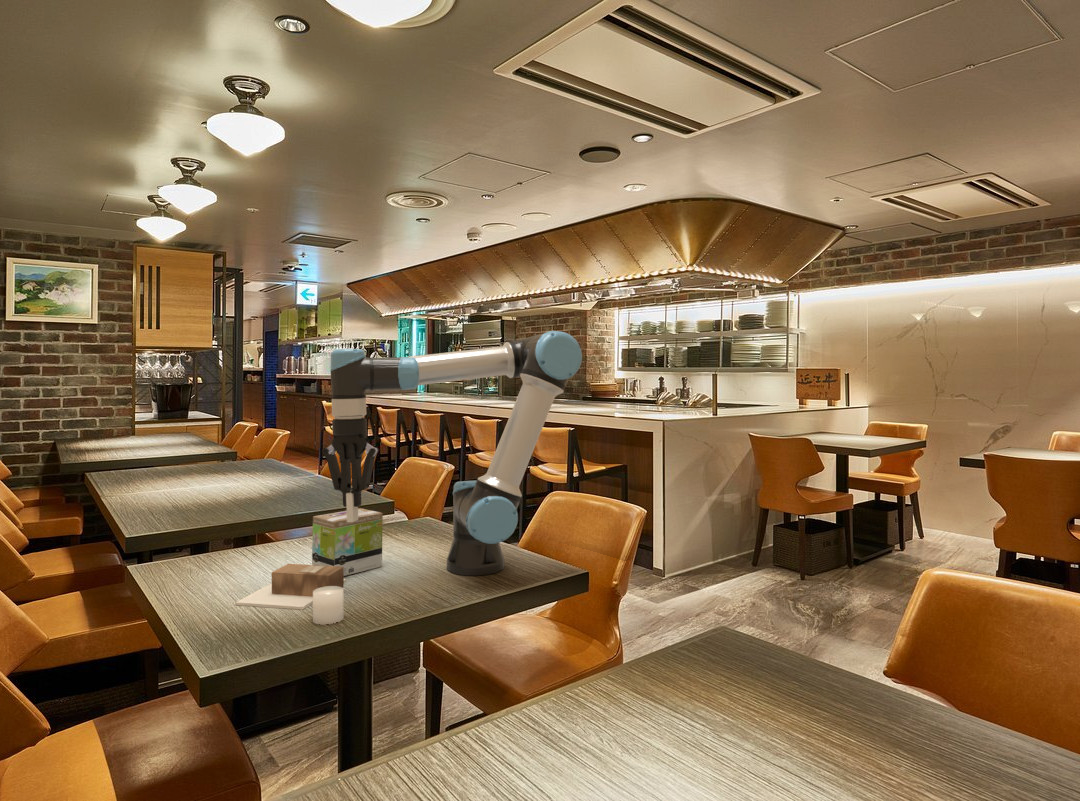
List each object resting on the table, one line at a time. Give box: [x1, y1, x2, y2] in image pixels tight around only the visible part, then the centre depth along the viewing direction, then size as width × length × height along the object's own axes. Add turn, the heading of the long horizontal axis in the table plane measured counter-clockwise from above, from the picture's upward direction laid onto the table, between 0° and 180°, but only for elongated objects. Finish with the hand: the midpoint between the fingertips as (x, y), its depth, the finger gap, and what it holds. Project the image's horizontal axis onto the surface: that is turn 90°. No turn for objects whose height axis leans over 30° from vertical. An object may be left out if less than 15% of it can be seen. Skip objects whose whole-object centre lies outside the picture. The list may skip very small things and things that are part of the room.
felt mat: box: [235, 578, 347, 611], centre depth 150 cm, size 16×20×1 cm
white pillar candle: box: [312, 586, 345, 626], centre depth 134 cm, size 6×6×6 cm
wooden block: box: [271, 563, 345, 597], centre depth 150 cm, size 5×7×14 cm
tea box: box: [311, 507, 384, 577], centre depth 168 cm, size 15×10×15 cm, turn 143°
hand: (352, 520), depth 148 cm, fingers closed
